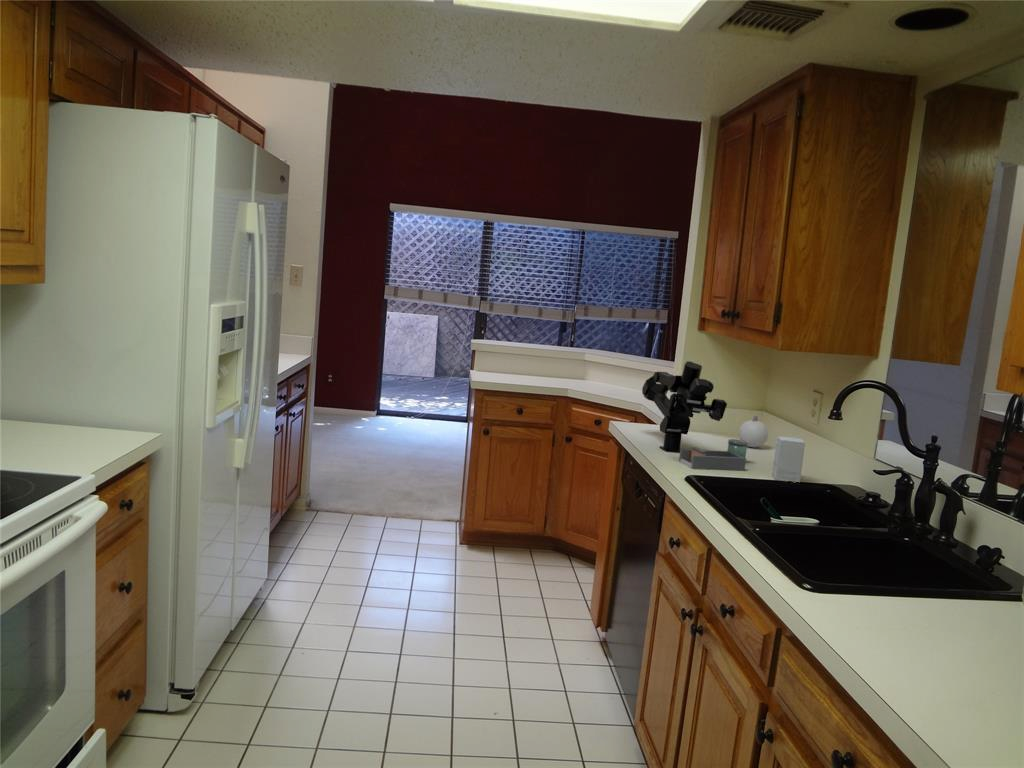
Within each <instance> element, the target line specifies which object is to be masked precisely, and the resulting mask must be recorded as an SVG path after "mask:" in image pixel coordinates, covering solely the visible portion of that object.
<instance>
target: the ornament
mask: <svg viewBox="0 0 1024 768" xmlns="http://www.w3.org/2000/svg"><path fill="white" fill-rule="evenodd" d="M768 436H769V430H768V427H767V426H766V425H765V423H763V422H762V421H760V420H759V417H758V415H754V416H753V417H752V419H750V420H746V421H744V422H743V423H742V424H741V426H740V428H739V430H738V437H739V438H738V439H739V440H743V441H746V442H748V444H747V448H748V447H749V448H760V447H762V446H764V445H765V443H766V442H767V441H768Z"/></svg>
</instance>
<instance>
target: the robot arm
mask: <svg viewBox="0 0 1024 768" xmlns="http://www.w3.org/2000/svg"><path fill="white" fill-rule="evenodd" d="M702 369H703V366H702V365H701V364H698V363H695V362H693V361H689V360H687V361H686V362H685V363H684V366H683V370H682V374H681V375H676V374H675V375H673V374H670V373H669V372H667V371H654V374H653V375H652V376H650V377H649V378H647V379H646V380H645V382H644V384H643V385H642V388H641V391H642V392H641V394H642V395H643V397H644V398H645V400H648V401H651V402H654V404H655V406H656V407H657V408H658V410H659V411H660V413H661V414H662V415H663V416H664V417H663V419H662V420H661V422H660V424H659V432H662V433H663V434H664V436H663V437H664V438H663V445H662V446H661V445H660V446H659V448H660V449H662V450H664V451H665V452H671V453H673V452H675V453H680V449H681V442H682V435H688V433H689V431H690V427H691V419H690V418H692V419H693V417H694V414H695V413H696V414H701V412H702V413H708V417H709V418H710V419H711V420H714V421H718V422H720V421H721V420H722V419H723V418H724V415H725V411H726V408H727V405H728V403H727V402H726V401H725V400H724V399H719V398H713V399H712V401H711V404H705V402H706V400H707V398H708V396H707V394H708V393H712V392H713V390H714V387H715V386H714V383H713V382H711V381H710V380H708V379H704V378H700V377H701V373H702ZM669 391H670V393H672V394H671V395H670V397H668V396H667V394H668V392H669Z"/></svg>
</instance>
